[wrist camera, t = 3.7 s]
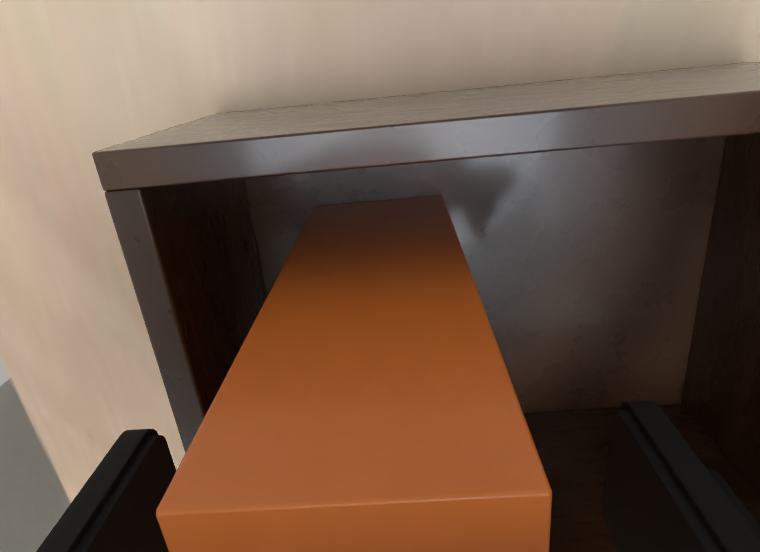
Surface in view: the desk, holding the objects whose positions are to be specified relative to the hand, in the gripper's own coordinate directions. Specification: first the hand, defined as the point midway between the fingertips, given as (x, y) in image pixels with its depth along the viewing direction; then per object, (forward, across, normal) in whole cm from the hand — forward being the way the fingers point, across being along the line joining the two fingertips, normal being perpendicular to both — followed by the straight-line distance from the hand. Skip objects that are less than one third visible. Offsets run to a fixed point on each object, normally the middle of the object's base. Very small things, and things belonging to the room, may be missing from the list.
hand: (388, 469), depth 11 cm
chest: (+10, -3, 0) cm, 10 cm away
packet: (+9, 0, 0) cm, 9 cm away
